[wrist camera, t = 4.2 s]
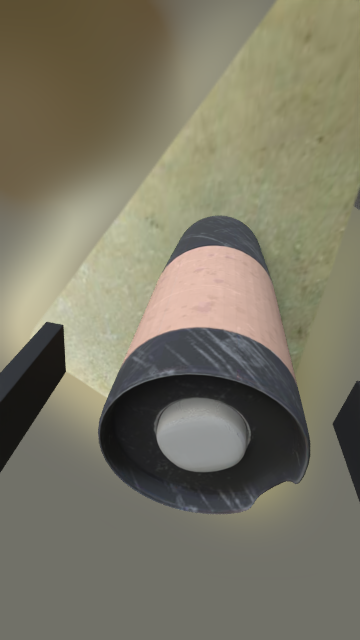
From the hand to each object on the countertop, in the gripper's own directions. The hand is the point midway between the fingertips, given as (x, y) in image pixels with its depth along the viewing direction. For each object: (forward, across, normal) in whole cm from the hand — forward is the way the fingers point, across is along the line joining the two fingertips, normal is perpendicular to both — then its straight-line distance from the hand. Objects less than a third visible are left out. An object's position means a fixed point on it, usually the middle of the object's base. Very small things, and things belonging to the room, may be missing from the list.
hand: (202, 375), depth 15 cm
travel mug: (+16, 0, 0) cm, 16 cm away
